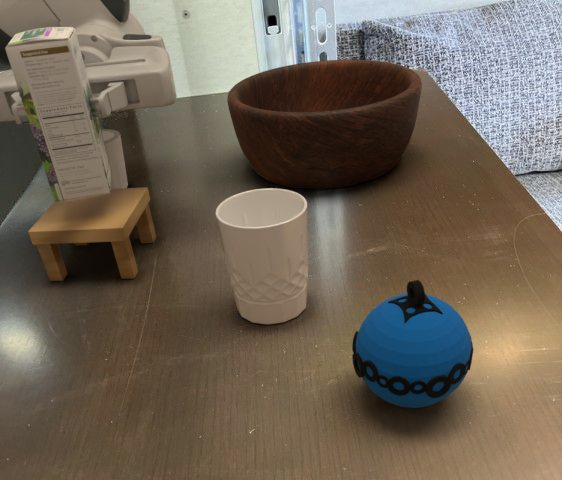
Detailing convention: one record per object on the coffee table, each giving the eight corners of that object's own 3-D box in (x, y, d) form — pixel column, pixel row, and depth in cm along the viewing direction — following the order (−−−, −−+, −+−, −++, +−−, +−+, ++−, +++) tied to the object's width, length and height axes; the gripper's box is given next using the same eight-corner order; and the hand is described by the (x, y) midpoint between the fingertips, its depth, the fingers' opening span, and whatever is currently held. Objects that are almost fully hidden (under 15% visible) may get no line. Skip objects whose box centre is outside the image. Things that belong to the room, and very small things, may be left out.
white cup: (214, 309, 60) (196, 211, 54) (273, 275, 64) (263, 181, 58) (271, 339, 55) (258, 237, 49) (330, 301, 59) (326, 201, 53)
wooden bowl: (267, 216, 75) (258, 129, 68) (218, 151, 94) (207, 78, 87) (453, 174, 80) (460, 89, 73) (370, 121, 98) (371, 49, 92)
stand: (46, 282, 67) (27, 231, 63) (78, 239, 75) (62, 191, 71) (136, 280, 66) (122, 227, 62) (159, 235, 73) (147, 186, 70)
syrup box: (60, 182, 67) (9, 32, 58) (114, 173, 67) (74, 23, 58) (54, 204, 63) (-1, 44, 53) (113, 194, 63) (69, 34, 54)
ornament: (489, 415, 46) (508, 299, 39) (380, 445, 44) (382, 330, 38) (434, 350, 52) (443, 241, 46) (337, 374, 51) (334, 266, 44)
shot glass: (106, 175, 90) (93, 126, 85) (142, 182, 87) (130, 130, 82) (72, 194, 86) (56, 143, 81) (108, 201, 82) (94, 148, 78)
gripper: (-8, 52, 69) (-61, 87, 58) (176, 33, 67) (156, 65, 57) (13, 111, 73) (-33, 154, 62) (186, 94, 71) (170, 135, 61)
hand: (59, 111), depth 59 cm, fingers closed on syrup box, 6 cm apart
